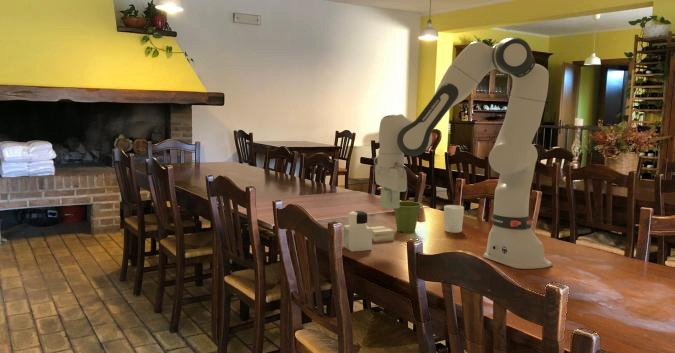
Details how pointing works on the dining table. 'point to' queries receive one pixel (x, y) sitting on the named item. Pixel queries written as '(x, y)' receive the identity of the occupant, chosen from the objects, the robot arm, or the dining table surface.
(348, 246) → the container
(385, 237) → the beech block
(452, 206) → the white cup
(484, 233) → the dining table surface
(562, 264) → the dining table surface
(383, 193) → the sage block
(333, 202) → the dining table surface
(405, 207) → the plant pot
